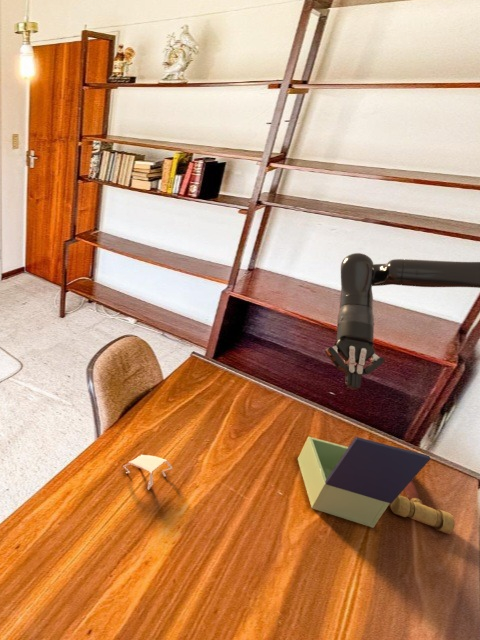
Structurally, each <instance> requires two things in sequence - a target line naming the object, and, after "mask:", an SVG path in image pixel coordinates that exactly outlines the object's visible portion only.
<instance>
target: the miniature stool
mask: <svg viewBox="0 0 480 640" xmlns="http://www.w3.org/2000/svg"><path fill="white" fill-rule="evenodd" d="M164 464H166V466H168V468H165V469H163V470H161V473H162V475H163V477H167V475H166V473H165V472H166V471H169V470H173V469H174V467H173V466H172V464H171V463H170V462H169V461H168V460H167V459H165V458H162V457H159V456H155V455H149V454H140V455H138V456H137V457H136V458H134V459H132V460H130V461H128V462H127V463H125V464H123V465H122V467H123V469H125V471H126V472H125V474H130V473H131V471H130V470H129V469H128V468H127V467H128V466H134V467H137V468H138V469H141V470H143V471H145V472H148V473H149V481H148V482H147V490H148V491H149V490H150V489H151V487H153V485H154V476H153V475H154V472H155V471H156V470H158V469H159V468H160V467H161V466H162V465H164Z"/></svg>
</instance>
